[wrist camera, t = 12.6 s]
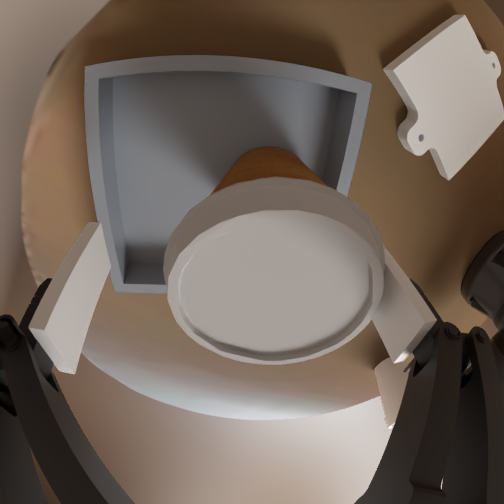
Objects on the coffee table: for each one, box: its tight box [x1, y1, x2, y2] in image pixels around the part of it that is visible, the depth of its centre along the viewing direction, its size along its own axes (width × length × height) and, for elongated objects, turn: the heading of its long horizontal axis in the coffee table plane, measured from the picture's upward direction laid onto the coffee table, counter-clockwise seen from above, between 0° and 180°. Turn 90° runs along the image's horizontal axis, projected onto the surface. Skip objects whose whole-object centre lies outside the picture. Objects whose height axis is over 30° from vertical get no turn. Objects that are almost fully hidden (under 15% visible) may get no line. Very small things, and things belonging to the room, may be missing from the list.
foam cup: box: [374, 357, 410, 428], centre depth 41 cm, size 10×9×13 cm
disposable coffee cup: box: [163, 146, 385, 365], centre depth 15 cm, size 10×10×12 cm
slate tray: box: [84, 55, 372, 293], centre depth 19 cm, size 18×18×4 cm
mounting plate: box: [383, 15, 504, 180], centre depth 16 cm, size 18×13×2 cm
